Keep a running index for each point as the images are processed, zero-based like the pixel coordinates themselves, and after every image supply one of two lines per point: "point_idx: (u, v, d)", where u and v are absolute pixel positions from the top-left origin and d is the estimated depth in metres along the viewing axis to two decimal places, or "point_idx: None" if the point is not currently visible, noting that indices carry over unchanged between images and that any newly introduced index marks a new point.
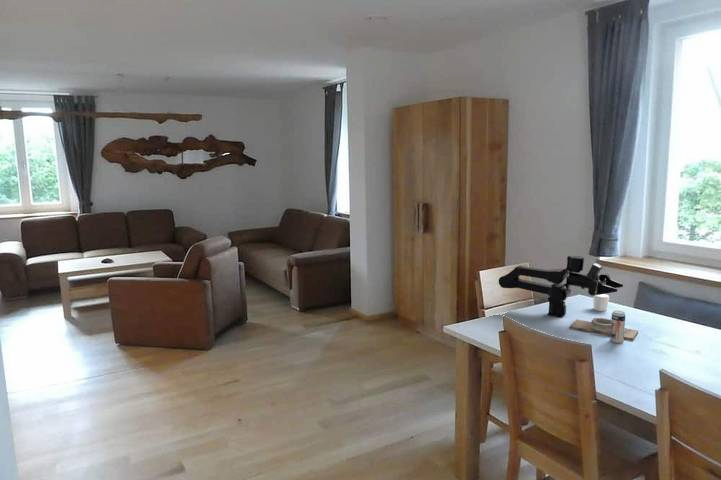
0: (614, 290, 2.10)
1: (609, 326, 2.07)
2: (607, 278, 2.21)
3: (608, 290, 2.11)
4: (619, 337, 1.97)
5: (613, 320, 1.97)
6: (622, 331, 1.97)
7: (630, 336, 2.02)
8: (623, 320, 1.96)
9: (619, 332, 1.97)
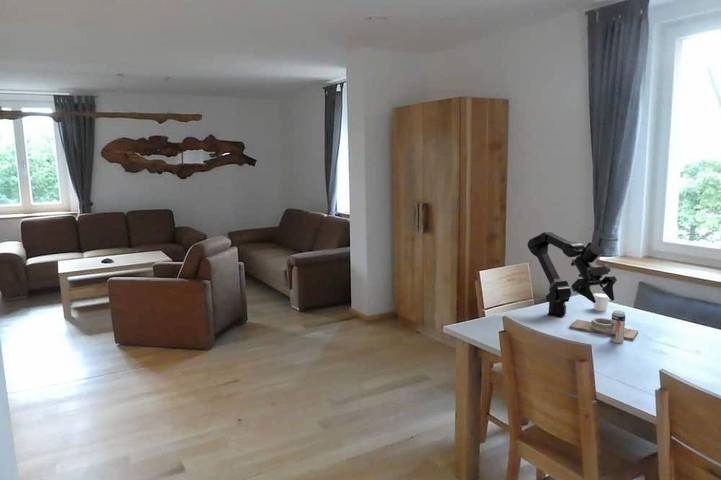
0: (592, 300, 2.04)
1: (609, 326, 2.07)
2: (609, 284, 2.09)
3: (588, 296, 2.05)
4: (619, 337, 1.97)
5: (613, 320, 1.97)
6: (622, 331, 1.97)
7: (630, 336, 2.02)
8: (623, 320, 1.96)
9: (619, 332, 1.97)
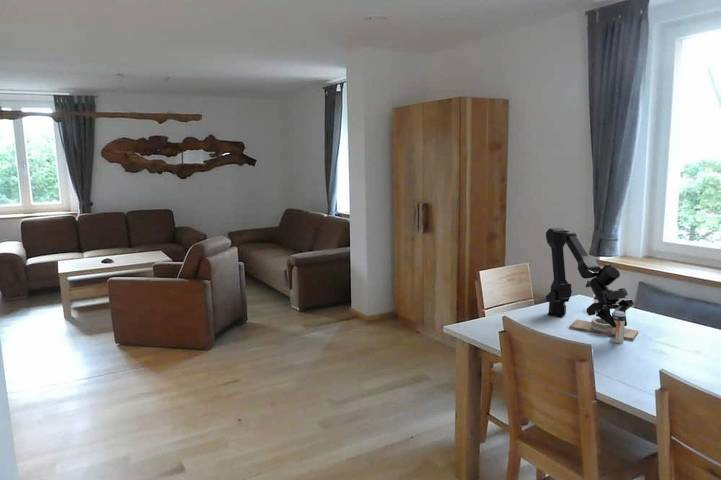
0: (612, 325, 1.97)
1: (609, 326, 2.07)
2: (621, 308, 2.00)
3: (608, 320, 1.98)
4: (619, 337, 1.97)
5: None
6: (622, 331, 1.97)
7: (630, 336, 2.02)
8: (623, 320, 1.96)
9: (619, 332, 1.97)
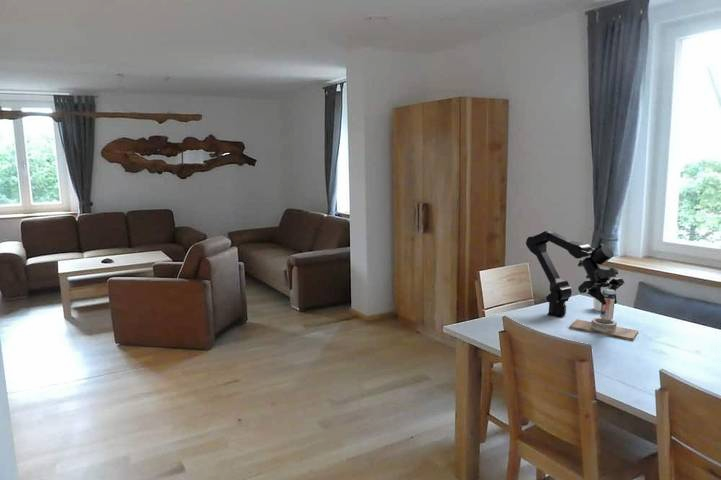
0: (602, 302, 2.05)
1: (609, 326, 2.07)
2: (612, 287, 2.08)
3: (598, 298, 2.06)
4: (609, 314, 2.05)
5: None
6: (612, 308, 2.05)
7: (630, 336, 2.02)
8: (613, 298, 2.04)
9: (609, 309, 2.05)
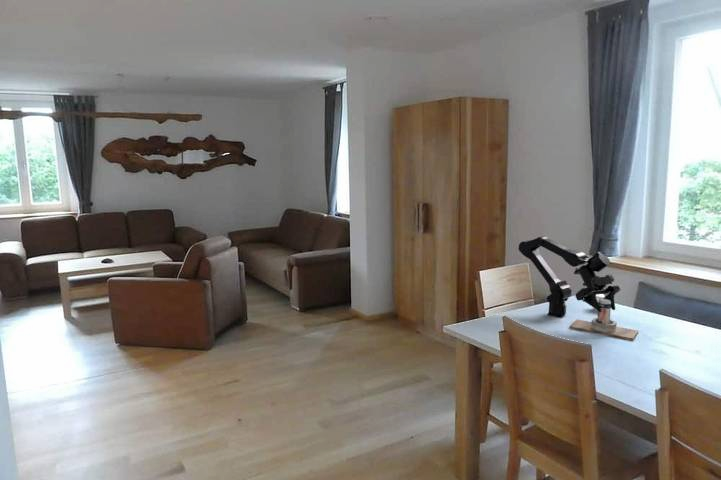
0: (598, 309, 2.08)
1: (609, 326, 2.07)
2: (610, 293, 2.12)
3: (594, 305, 2.09)
4: None
5: None
6: (608, 318, 2.09)
7: (630, 336, 2.02)
8: (609, 307, 2.08)
9: (605, 319, 2.09)
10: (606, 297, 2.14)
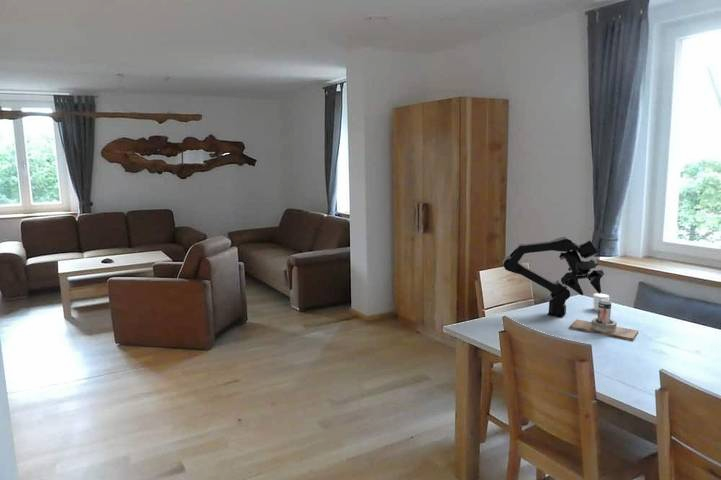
0: (580, 293, 2.16)
1: (609, 326, 2.07)
2: (596, 277, 2.20)
3: (576, 289, 2.17)
4: None
5: (600, 308, 2.09)
6: (608, 318, 2.09)
7: (630, 336, 2.02)
8: (609, 308, 2.08)
9: (605, 319, 2.09)
10: (592, 281, 2.22)
